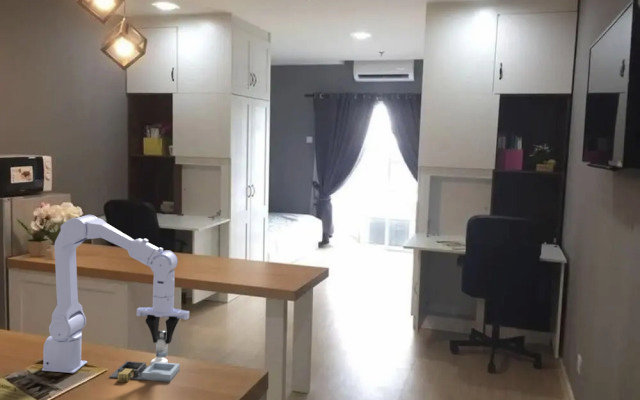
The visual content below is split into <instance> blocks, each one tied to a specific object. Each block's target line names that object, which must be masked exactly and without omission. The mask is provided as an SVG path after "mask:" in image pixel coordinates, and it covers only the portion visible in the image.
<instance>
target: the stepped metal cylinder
mask: <svg viewBox="0 0 640 400" xmlns="http://www.w3.org/2000/svg"><path fill="white" fill-rule="evenodd" d="M166 337H167V329H166V330H165V329H160V330H158V337H157V338H156V343H155V346H156V348H155V356H156V357H163V358H166V357H168V356H169V355H168V353H169V344H166Z"/></svg>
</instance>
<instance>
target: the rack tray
mask: <svg viewBox="0 0 640 400" xmlns="http://www.w3.org/2000/svg"><path fill="white" fill-rule="evenodd" d="M180 365H181V364H180V363H175V362H168V363H165V362H152V363H151V362H150V363H149V365H147V366H148V367H147V368H146V369H145V370H144V371H143V372H142V380H141V381H154V382H168V383H171V382H172V380H173V379H174V378H175V377H176V375H178V373H179V372H180V369H181V368H180Z"/></svg>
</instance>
